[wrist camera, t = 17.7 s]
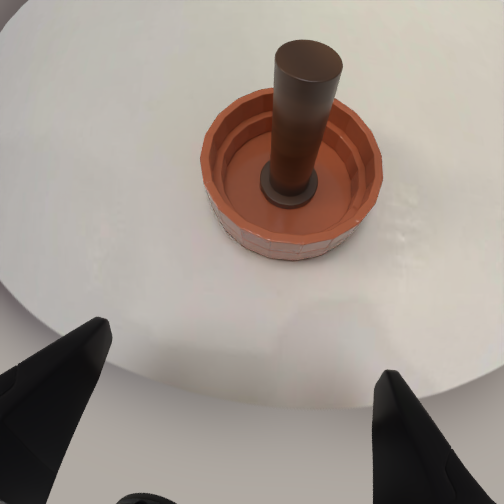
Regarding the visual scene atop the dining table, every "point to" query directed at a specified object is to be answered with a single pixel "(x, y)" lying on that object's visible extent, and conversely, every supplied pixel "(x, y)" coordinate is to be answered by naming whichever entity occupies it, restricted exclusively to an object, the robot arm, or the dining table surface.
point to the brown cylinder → (299, 120)
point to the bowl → (326, 166)
